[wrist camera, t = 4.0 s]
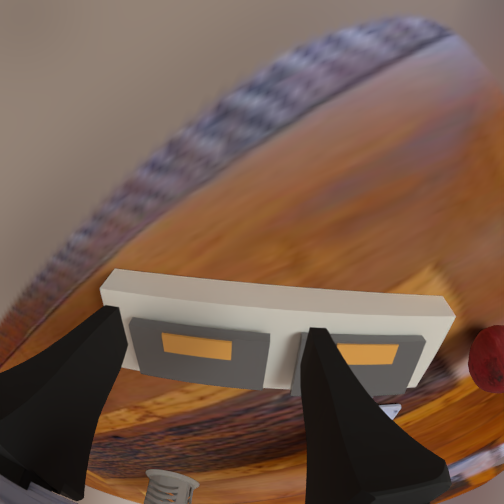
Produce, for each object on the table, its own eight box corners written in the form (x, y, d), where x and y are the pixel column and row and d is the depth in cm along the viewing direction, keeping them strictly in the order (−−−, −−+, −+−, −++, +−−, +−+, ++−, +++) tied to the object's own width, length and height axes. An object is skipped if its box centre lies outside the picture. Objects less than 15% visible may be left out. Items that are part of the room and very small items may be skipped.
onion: (445, 345, 24) (477, 413, 16) (486, 299, 21) (531, 362, 14) (474, 359, 24) (503, 417, 17) (510, 318, 22) (548, 374, 15)
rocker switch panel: (394, 388, 26) (400, 409, 24) (138, 371, 27) (129, 391, 25) (442, 296, 21) (455, 316, 19) (114, 268, 21) (99, 288, 19)
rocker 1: (262, 381, 21) (262, 392, 21) (144, 366, 22) (140, 375, 21) (270, 333, 19) (270, 344, 18) (132, 316, 19) (127, 326, 18)
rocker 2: (400, 387, 21) (404, 395, 20) (290, 388, 21) (290, 397, 20) (422, 335, 19) (427, 342, 18) (301, 332, 19) (302, 340, 19)
